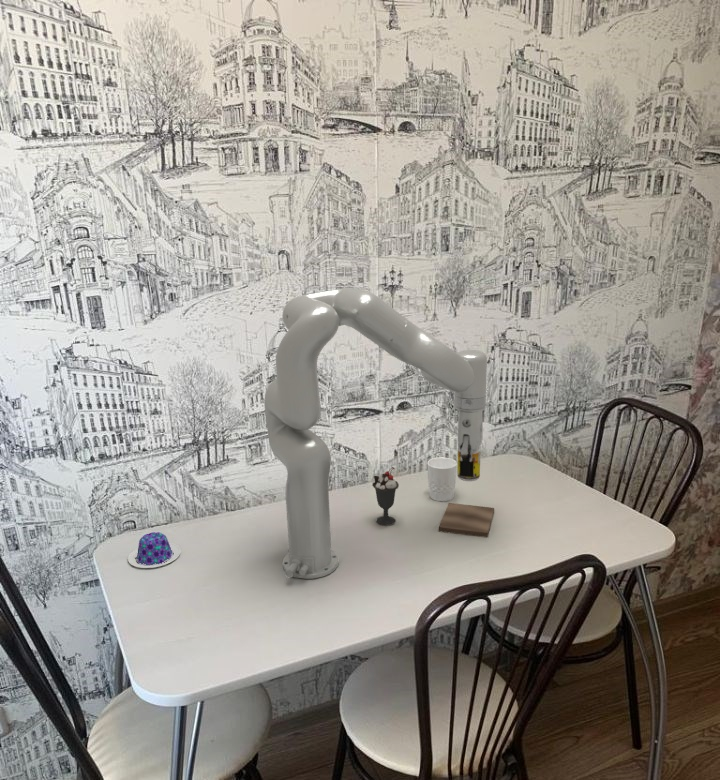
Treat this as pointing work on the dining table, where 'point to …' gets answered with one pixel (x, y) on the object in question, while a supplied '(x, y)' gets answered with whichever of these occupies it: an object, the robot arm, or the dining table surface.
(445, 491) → the white cup
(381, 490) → the sundae
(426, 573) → the dining table surface
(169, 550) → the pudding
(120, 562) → the dining table surface
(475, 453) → the supplement bottle
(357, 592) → the dining table surface
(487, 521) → the walnut board
